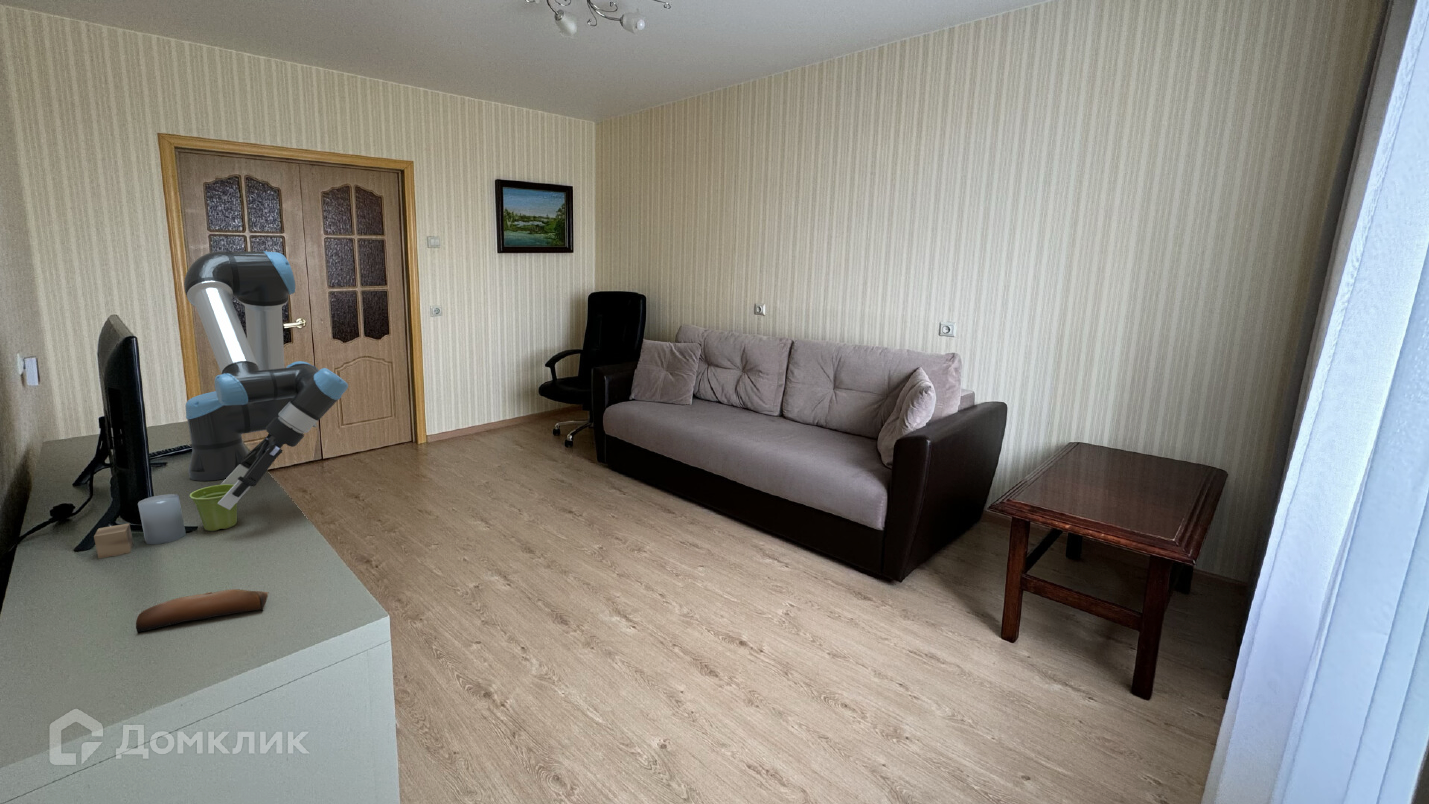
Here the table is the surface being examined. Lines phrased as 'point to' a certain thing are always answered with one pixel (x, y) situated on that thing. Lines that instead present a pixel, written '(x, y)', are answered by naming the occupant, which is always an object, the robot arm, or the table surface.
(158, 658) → the table surface
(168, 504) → the slate jar
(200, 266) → the robot arm
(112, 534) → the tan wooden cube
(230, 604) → the sunglasses case
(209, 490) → the plant pot
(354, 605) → the table surface
